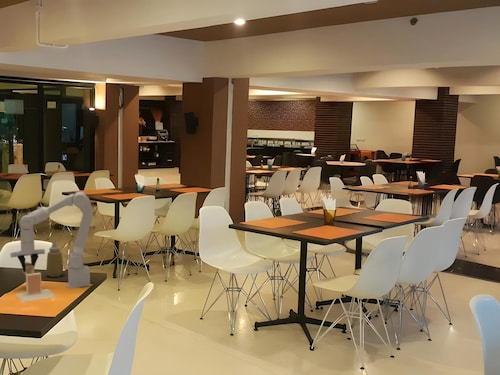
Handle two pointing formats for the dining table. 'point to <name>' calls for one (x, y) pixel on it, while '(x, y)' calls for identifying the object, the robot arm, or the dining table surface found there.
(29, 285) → the tile
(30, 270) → the wooden bar
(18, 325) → the dining table surface
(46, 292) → the mat
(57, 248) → the squeeze bottle
